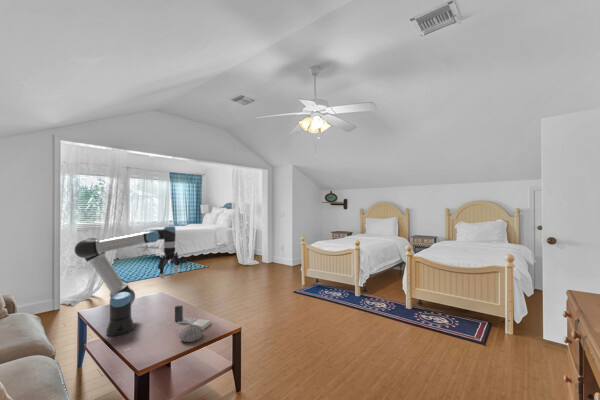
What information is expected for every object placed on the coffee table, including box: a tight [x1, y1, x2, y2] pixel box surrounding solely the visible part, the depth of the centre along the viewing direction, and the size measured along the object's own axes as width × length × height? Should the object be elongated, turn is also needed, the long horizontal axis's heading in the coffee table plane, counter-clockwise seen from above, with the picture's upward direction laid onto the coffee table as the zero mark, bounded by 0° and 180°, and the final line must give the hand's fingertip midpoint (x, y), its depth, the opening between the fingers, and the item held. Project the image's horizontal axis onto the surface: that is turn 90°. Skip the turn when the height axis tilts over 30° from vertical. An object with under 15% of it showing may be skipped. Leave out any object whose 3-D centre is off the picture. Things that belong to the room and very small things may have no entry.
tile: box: [190, 318, 211, 331], centre depth 185 cm, size 10×3×9 cm
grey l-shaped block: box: [174, 305, 198, 325], centre depth 193 cm, size 7×15×10 cm, turn 77°
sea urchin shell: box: [179, 324, 204, 343], centre depth 168 cm, size 13×14×8 cm
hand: (169, 276), depth 204 cm, fingers open, 13 cm apart
